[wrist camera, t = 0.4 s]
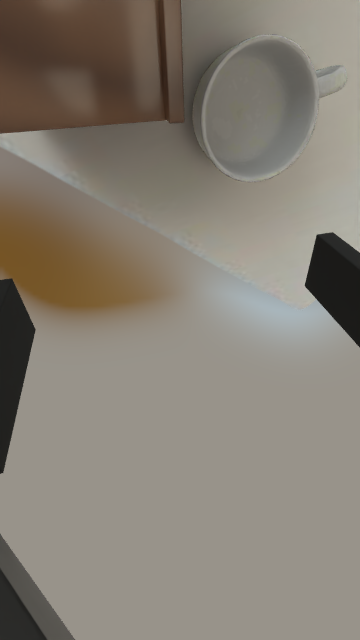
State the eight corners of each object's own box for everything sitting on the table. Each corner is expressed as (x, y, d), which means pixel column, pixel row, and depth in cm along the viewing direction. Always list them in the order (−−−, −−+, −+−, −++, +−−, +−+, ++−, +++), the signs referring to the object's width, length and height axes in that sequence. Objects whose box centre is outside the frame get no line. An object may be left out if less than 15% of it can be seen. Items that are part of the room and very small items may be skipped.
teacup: (190, 171, 37) (209, 194, 31) (175, 51, 30) (194, 49, 24) (305, 145, 38) (345, 161, 32) (315, 21, 31) (369, 11, 25)
